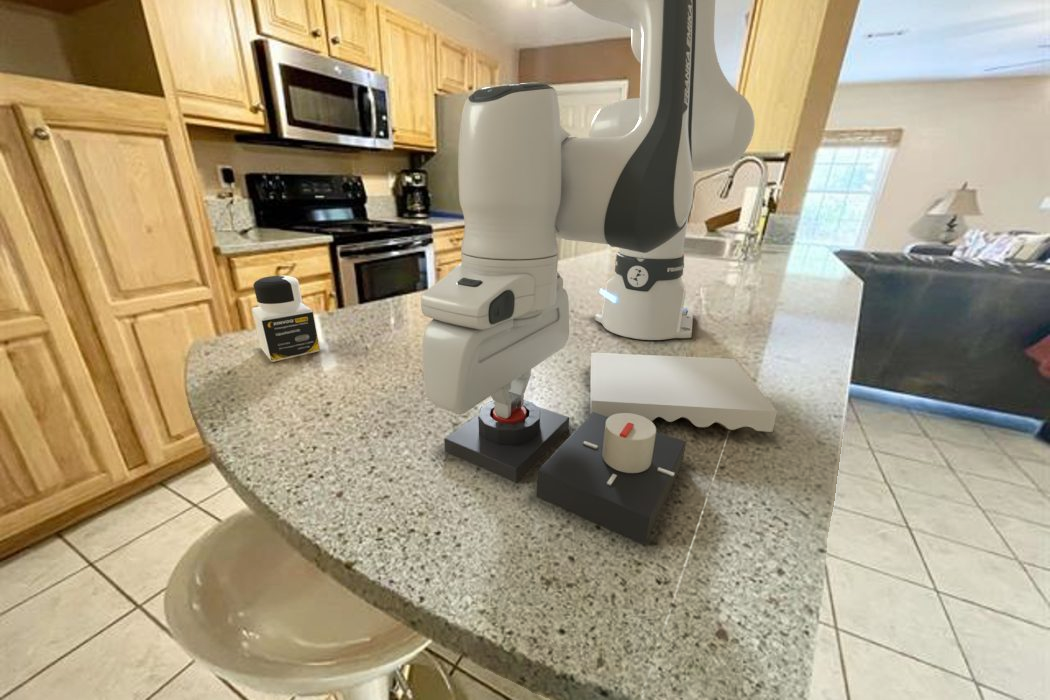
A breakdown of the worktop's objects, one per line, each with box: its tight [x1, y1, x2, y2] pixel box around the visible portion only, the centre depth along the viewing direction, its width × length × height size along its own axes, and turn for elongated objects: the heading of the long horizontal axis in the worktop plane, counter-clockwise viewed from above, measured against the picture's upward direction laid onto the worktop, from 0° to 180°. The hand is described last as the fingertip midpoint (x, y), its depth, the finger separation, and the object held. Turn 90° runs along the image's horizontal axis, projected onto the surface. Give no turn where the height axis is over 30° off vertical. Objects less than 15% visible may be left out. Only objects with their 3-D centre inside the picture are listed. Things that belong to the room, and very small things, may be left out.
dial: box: [602, 413, 657, 473], centre depth 38 cm, size 4×4×4 cm
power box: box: [443, 399, 570, 484], centre depth 45 cm, size 11×9×4 cm
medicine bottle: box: [251, 275, 321, 363], centre depth 66 cm, size 7×7×12 cm
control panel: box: [536, 412, 687, 546], centre depth 40 cm, size 12×10×3 cm
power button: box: [493, 407, 527, 424], centre depth 45 cm, size 4×4×2 cm
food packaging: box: [589, 352, 778, 433], centre depth 54 cm, size 15×3×20 cm
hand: (509, 411), depth 45 cm, fingers closed, pressing on power button
